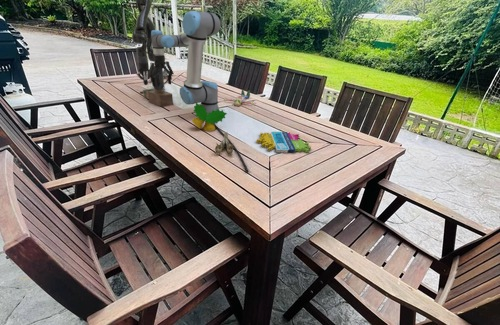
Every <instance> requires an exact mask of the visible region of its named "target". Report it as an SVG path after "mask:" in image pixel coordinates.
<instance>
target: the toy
mask: <svg viewBox="0 0 500 325" xmlns="http://www.w3.org/2000/svg"><path fill="white" fill-rule="evenodd" d="M240 92H241V93H240V95H238V96H237V97H235V99H233V98H230V99H228V98H227V97H226V96H225V97H224V98H223V101H224V102H233V103H232V104H233V105H235V106H242V103H243V104H247V105H252V106H255V105H256V104H257V103H256V102H254V101H253V100H252V101H251V102H250V101H248V100H246V99H248V98H250V97H251V90H250V89H249V90H248V91H247V92H246V93H245V91H244V89H242V90H241V91H240Z"/></svg>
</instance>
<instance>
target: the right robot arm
mask: <svg viewBox="0 0 500 325" xmlns="http://www.w3.org/2000/svg"><path fill="white" fill-rule="evenodd" d="M221 24H222V23H221V20H220V18H219V17H218V15H217V14H215V13H213V12H210V11H198V10H190V11H189V10H188V11H187V12H186V13H185V14H184V16H183V17H182V21H181V25H182V26H181V27H182V30H183V33H181V34H164V32H163V31H162V30H159V29H158V30H157V29H155V30H152V31H151V38H152V48H153V54H154V61H155V62H150V64H149V65H150V66H149V72H148V77H150V79H151V82H150V83H151V84H152V87H153V88H154V87H155V78H154V75H155V73H156V72H157V70H158V69H163V70H165V71H166V72H167V73H168V74H167V75H168V78H167V79H168V81H167V83H168V85H172V80H173V78H172V77H173V76H171V75H174V71H173V69H172V67H171V65H170V62H169V61H167V60H166V55H165V49H172V48H187V64H186V65H187V66H186V79H185V80H184V81H183V86H181V87H180V88H179V96H180V99H181V101H182V102H183V103H184V104H185V105H194V104H195V105H196V102H197V103H198V104H201V106H204V109H206V112H208V113H211V112H212V110H214V111H216V110H217V109H219V111H221V110H220V108H219V102H218V99H219V98H218V97H219V88H218V84H217V82H214V81H210V80H201V79H202V69H203V68H202V66H203V56H204V45H205V42H206V41H207V40H208V37H212V36H215V35H217V34H218V33H219V32H220V30H221V26H222V25H221ZM154 66H155V67H154ZM153 68H154V70H153ZM208 113H207V115H208ZM213 124H214V126H215V129H216V130H217V131H219V133H220V134H221V135H222V136H223V137H224V132H223V131H222V130H221V129H220V128H219V127H218V126H217V125H216V123H213ZM228 141H229V144H230V145H232V144H233V142H232V141H231V140H230V139H229V138H228ZM232 148H233V150H235V153H237V155H238V157H239V158H240V161H241V162H242V164H243V167H244V169H245V172H246V173H248V172H249V168H248V167H247V165H246V163H245V160H244V158H243V156H242V155H241V154H240V152H239V150H238V149H237V147H236V146H235V145H234V144H233V145H232Z"/></svg>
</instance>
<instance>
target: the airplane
mask: <svg viewBox="0 0 500 325" xmlns="http://www.w3.org/2000/svg"><path fill="white" fill-rule="evenodd" d="M168 75H169V74H168V73H167V72H166V71H165V70H164V69H163V78H164V79H165V78H166V79H168V77H167V76H168ZM171 76H172V77H175V75H174V74H172V75H171ZM148 83H152V82H151V78H150V79H148Z"/></svg>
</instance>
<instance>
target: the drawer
mask: <svg viewBox="0 0 500 325" xmlns="http://www.w3.org/2000/svg"><path fill="white" fill-rule="evenodd" d="M153 90H154V88H147V89H142V90H141V91H139V94H140V95H141V94H142V96H143V99H148V100H149V94H148V91H153Z"/></svg>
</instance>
